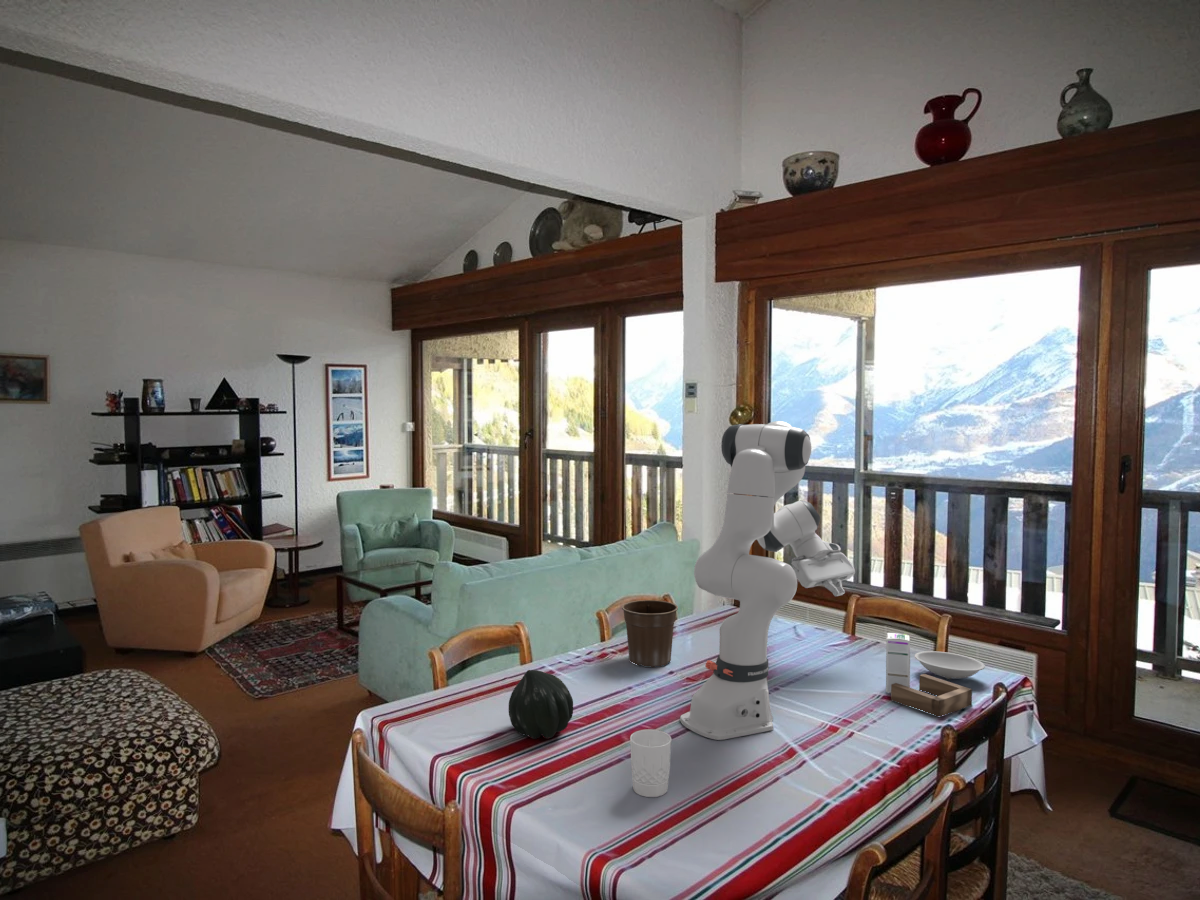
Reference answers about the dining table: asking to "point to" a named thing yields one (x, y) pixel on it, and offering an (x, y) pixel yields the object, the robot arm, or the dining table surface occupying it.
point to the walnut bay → (945, 702)
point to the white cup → (650, 762)
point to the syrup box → (897, 660)
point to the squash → (540, 705)
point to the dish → (949, 664)
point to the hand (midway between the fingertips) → (840, 594)
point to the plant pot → (650, 631)
